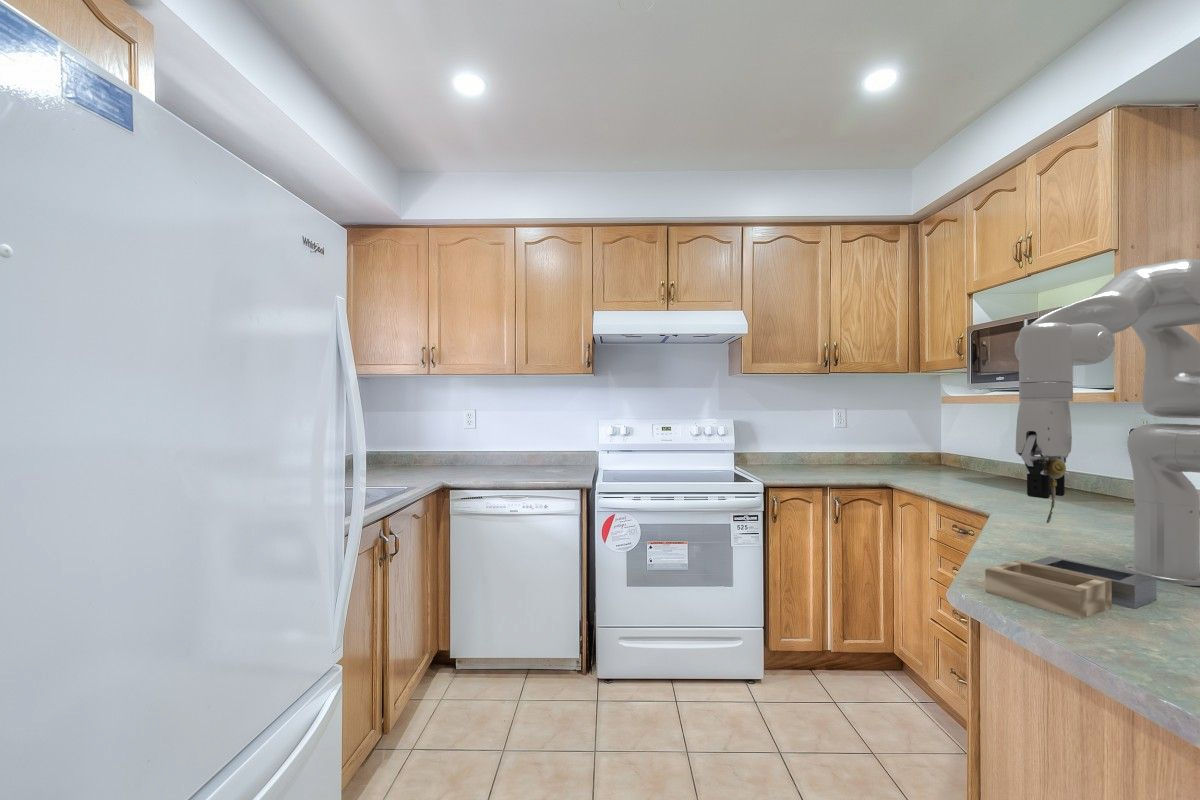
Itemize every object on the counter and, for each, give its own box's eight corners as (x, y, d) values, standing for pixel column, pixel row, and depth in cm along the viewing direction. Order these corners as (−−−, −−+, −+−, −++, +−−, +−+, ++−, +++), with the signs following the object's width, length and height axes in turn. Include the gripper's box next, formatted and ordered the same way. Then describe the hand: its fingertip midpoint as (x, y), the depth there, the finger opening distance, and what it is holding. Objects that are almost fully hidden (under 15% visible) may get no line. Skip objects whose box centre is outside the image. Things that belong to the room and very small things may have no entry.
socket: (1019, 585, 109) (1018, 559, 109) (1111, 608, 97) (1111, 579, 97) (985, 596, 103) (985, 568, 103) (1079, 622, 91) (1079, 591, 91)
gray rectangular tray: (1050, 575, 116) (1050, 556, 116) (1156, 599, 102) (1156, 577, 102) (1027, 583, 111) (1027, 562, 111) (1134, 609, 97) (1134, 585, 97)
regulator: (1071, 527, 96) (1073, 439, 97) (1045, 525, 97) (1046, 438, 97) (1046, 519, 104) (1047, 437, 104) (1022, 518, 104) (1023, 436, 105)
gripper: (1043, 393, 108) (1044, 489, 108) (996, 393, 100) (997, 497, 99) (1093, 393, 101) (1093, 495, 101) (1047, 392, 93) (1047, 503, 93)
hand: (1045, 495), depth 100 cm, fingers closed on regulator, 4 cm apart
